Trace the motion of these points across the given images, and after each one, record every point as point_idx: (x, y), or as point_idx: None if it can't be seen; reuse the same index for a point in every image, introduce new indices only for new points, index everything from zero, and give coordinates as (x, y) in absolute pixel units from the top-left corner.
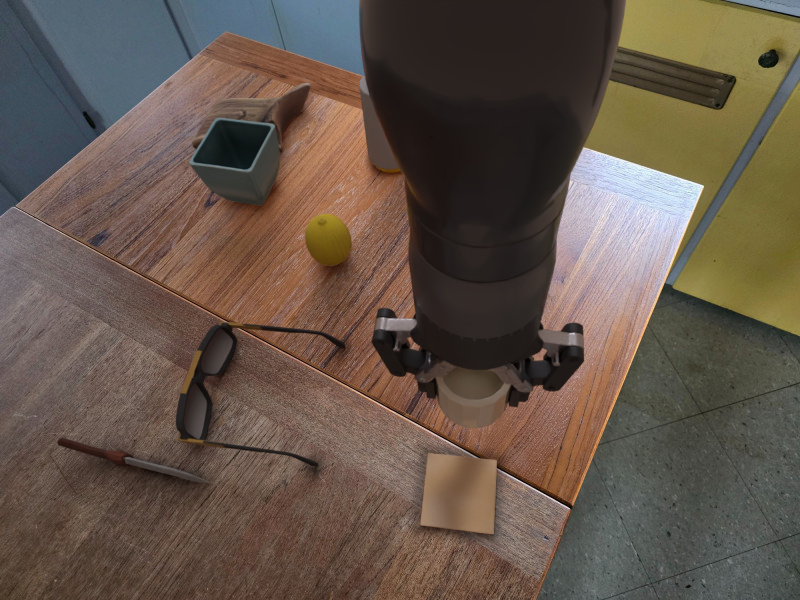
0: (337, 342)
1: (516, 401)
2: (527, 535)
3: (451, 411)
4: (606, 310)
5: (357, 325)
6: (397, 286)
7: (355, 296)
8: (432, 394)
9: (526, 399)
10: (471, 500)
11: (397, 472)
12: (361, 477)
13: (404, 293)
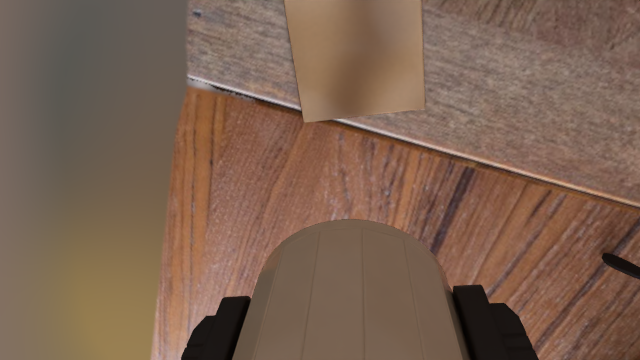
0: (624, 267)
1: (216, 331)
2: (227, 9)
3: (403, 284)
4: None
5: (579, 291)
6: None
7: (587, 333)
8: (471, 312)
9: (196, 332)
10: (333, 44)
11: (477, 61)
12: (549, 35)
13: None
